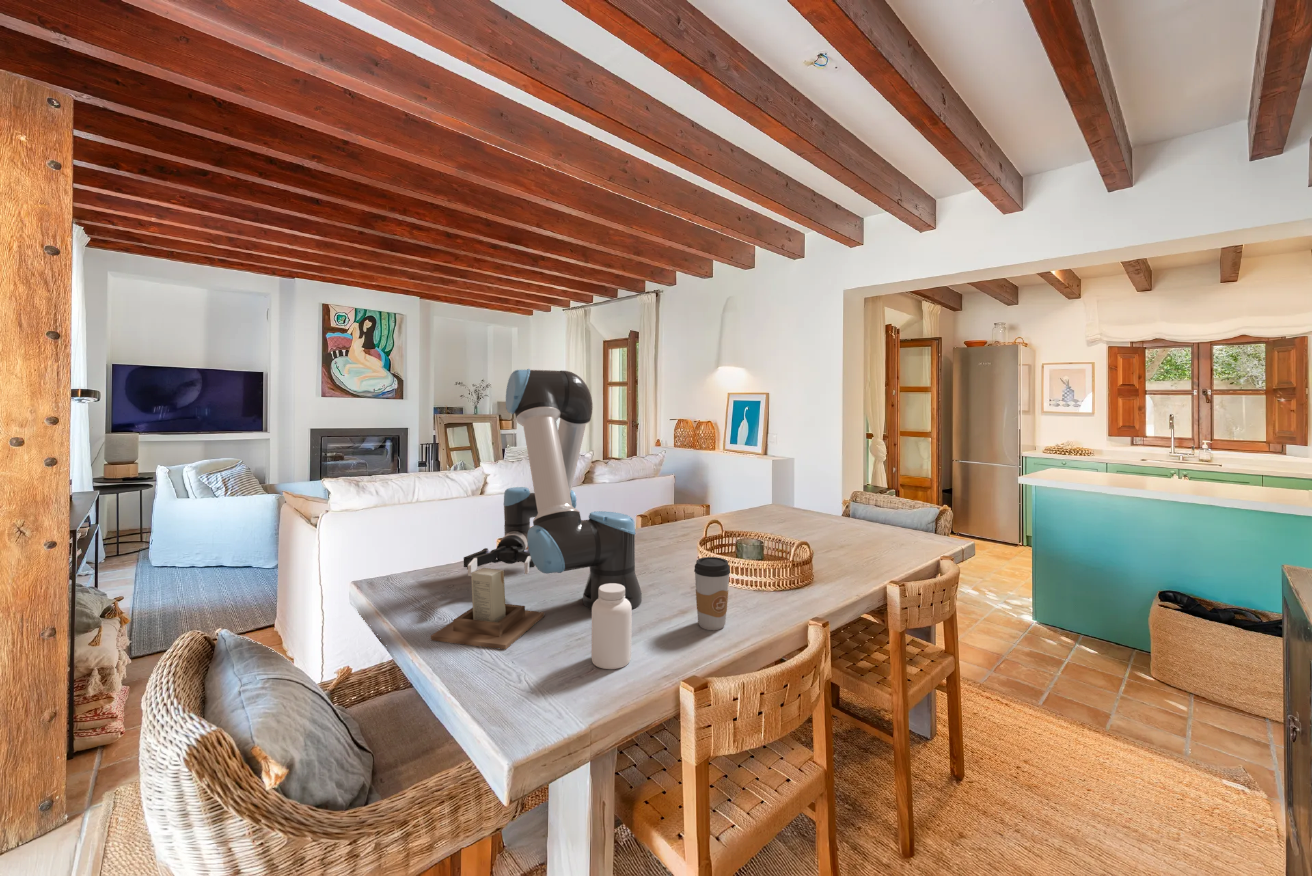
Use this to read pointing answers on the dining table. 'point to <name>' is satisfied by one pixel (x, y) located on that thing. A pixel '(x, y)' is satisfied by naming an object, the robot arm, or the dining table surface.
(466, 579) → the dining table surface
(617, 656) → the pill bottle
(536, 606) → the dining table surface
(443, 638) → the socket holder
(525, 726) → the dining table surface
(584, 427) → the robot arm
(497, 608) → the skincare box
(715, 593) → the coffee cup
